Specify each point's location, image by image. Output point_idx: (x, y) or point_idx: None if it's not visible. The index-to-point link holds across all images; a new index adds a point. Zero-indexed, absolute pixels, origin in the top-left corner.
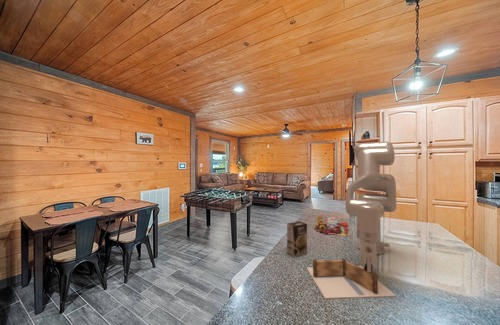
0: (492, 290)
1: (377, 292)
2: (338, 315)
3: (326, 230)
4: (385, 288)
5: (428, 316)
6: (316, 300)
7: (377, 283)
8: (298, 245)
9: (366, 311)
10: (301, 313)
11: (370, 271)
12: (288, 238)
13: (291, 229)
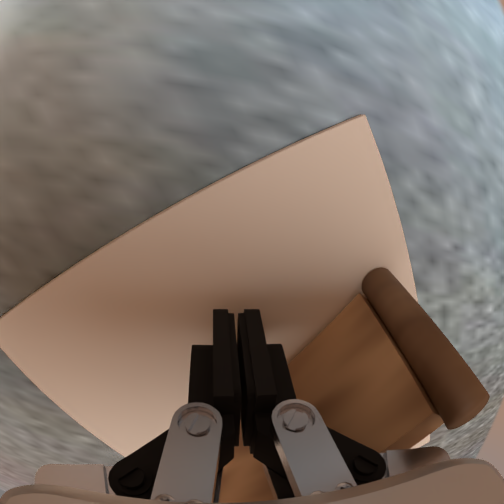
0: None
1: (395, 278)
2: (495, 388)
3: None
4: (268, 184)
5: (483, 3)
6: (432, 446)
7: (436, 327)
8: None
9: (498, 323)
10: (471, 441)
11: (445, 459)
12: None
13: None
